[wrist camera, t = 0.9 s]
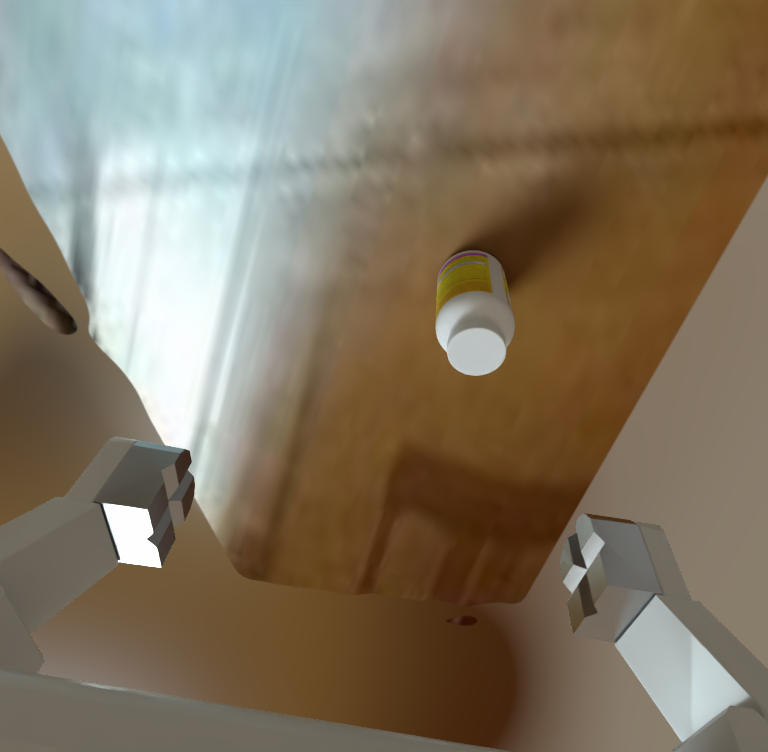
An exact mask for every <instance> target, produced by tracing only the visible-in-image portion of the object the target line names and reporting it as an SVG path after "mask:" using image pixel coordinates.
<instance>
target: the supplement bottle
mask: <svg viewBox="0 0 768 752" xmlns="http://www.w3.org/2000/svg"><path fill="white" fill-rule="evenodd" d="M514 329H515V323H514V316H513V312H512V307H511V302H510V296H509V291H508V286H507V281H506V276H505V272H504V270H503V267H502V266H501V264H500V263H499V261H498V260H497V259H496V258H494V257H493V256H492V255H490V254H488V253H486V252H482V251H477V250H469V251H463V252H460V253H458V254H456V255H454V256H452V257H451V258H450V259H448V260H447V261H446V263H445V264H444V265H443V266H442V268H441V270H440V272H439V275H438V280H437V307H436V334H437V338H438V341H439V343H440V345H441V346H442V347H443V349H444V350H445V351H446V352H447V356H448V359H449V361H450V363H451V364H452V366H453V367H454V368H455V369H457V370H458V371H460V372H462V373H464V374H468V375H484V374H488V373H490V372H492V371H494V370H495V369H497V368H498V367H499V366H500V365H501V364H502V362H503V361H504V359H505V356H506V348H507V347H508V345H509V344H510V342H511V340H512V338H513V335H514Z"/></svg>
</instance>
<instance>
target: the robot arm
mask: <svg viewBox="0 0 768 752" xmlns="http://www.w3.org/2000/svg"><path fill="white" fill-rule="evenodd" d="M191 462H192V461H191V456H190V451H189V450H186V449H181V448H176V447H170V446H165V445H159V444H154V443H149V442H144V441H137V440H132V439H126V438H120V437H113V438H112V439H110V440H108V441H107V442H106V443H105V445H104V446H103V447H102V449H101V450H100V451H99V452H98V454H97V455H96V456H95V458H94V459H93V460H92V462H91V463H90V465H89V466H88V467H87V468H86V470H85V471H84V472H83V474H82V475H81V476H80V478H79V479H78V480H77V482H76V483H75V484H74V486H73V487H72V488H71V489H70V491H69V492H68V493H67V495H66V496H65V497H64V498H62V497H55V498H54V499H52V500H50V501H48V502H46V503H44V504H42V505H40V506H38V507H36V508H35V509H33V510H31V511H29V512H27V513H25V514H23V515H21V516H19V517H18V518H16V519H14V520H12V521H10V522H8V523H6V524H4V525H2V526H0V752H510V751H504V750H498V749H492V748H485V747H480V746H474V745H467V744H461V743H455V742H449V741H443V740H437V739H431V738H425V737H419V736H413V735H406V734H401V733H395V732H389V731H383V730H376V729H370V728H364V727H358V726H352V725H346V724H340V723H334V722H328V721H322V720H315V719H309V718H304V717H298V716H292V715H285V714H279V713H273V712H267V711H261V710H255V709H249V708H243V707H237V706H230V705H225V704H218V703H212V702H206V701H200V700H194V699H188V698H182V697H176V696H170V695H163V694H158V693H151V692H146V691H139V690H133V689H127V688H121V687H114V686H108V685H102V684H97V683H91V682H84V681H78V680H72V679H66V678H60V677H54V676H48V675H42V674H37V673H38V671H39V670H40V668H41V666H42V664H43V663H44V658H43V654H42V652H41V651H40V649H39V647H38V645H37V644H36V642H35V640H34V639H33V637H32V635H31V633H33V632H34V631H35V630H36V629H37V628H39V627H40V626H41V625H43V624H44V623H45V622H46V621H48V620H49V619H50V618H51V617H53V616H54V615H55V614H57V613H58V612H59V611H60V610H61V609H63V608H64V607H65V606H66V605H68V604H69V603H71V602H72V601H73V600H74V599H76V598H77V597H78V596H79V595H81V594H82V593H83V592H84V591H86V590H87V589H88V588H90V587H91V586H92V585H93V584H95V583H96V582H97V581H98V580H99V579H101V578H102V577H103V576H105V575H106V574H107V573H109V572H110V571H111V570H112V569H114V568H115V567H116V566H117V565H118V564H119V563H118V562H125V563H132V564H139V565H147V566H155V567H162V565H163V563H164V561H165V559H166V557H167V555H168V553H169V551H170V549H171V547H172V545H173V543H174V541H175V533H174V527H176V526H177V525H179V524H180V523H182V522H183V521H185V518H186V517H187V514H188V512H189V510H190V508H191V504H192V501H193V497H194V489H195V482H194V476H193V475H192V474H191V473H190V472H189V471H188V468H189V466H190V464H191ZM575 526H576V530H577V533H576V534H574V535H572V536H570V537H568V538H567V540H566V542H565V544H564V546H563V549H562V554H561V560H560V561H561V575H562V581H563V583H564V584H565V586H566V587H567V588H568V589H569V590H570V592H571V593H572V595H571V597H570V598H569V600H568V602H567V607H568V612H569V617H570V622H571V627H572V632H573V635H577V636H582V637H587V638H593V639H598V640H603V641H608V642H613V643H616V644H615V646H616V648H617V649H618V650H619V652H620V653H621V655H622V656H623V658H624V659H625V661H626V662H627V663H628V665H629V666H630V668H631V669H632V670H633V672H634V673H635V675H636V676H637V678H638V679H639V681H640V682H641V684H642V685H643V687H644V688H645V689H646V691H647V692H648V694H649V695H650V697H651V698H652V699H653V701H654V702H655V704H656V705H657V707H658V708H659V710H660V711H661V712H662V714H663V715H664V717H665V718H666V720H667V721H668V722H669V724H670V725H671V727H672V728H673V730H674V731H675V732H676V734H677V735H678V737H679V738H680V740H681V741H682V743H681V744H680V745H678V746H677V747H676V748H675V749H673V750H672V751H671V752H768V669H767V668H766V667H765V666H764V665H763V664H762V663H761V662H760V661H759V660H758V659H757V658H756V657H755V656H754V655H753V654H752V653H751V652H750V651H749V650H748V649H747V648H746V647H745V646H744V645H743V644H742V643H741V642H740V641H739V640H738V639H737V638H736V637H735V636H734V635H733V634H732V633H731V632H730V631H729V630H728V629H727V628H726V627H725V626H724V625H723V624H722V623H721V622H720V621H719V620H718V619H716V617H715V616H714V615H712V613H710V611H708V609H707V608H706V607H704V605H703V604H702V603H701V602H699V601H694V600H692V599H691V596H690V594H689V591H688V589H687V587H686V584H685V582H684V579H683V577H682V574H681V572H680V569H679V567H678V564H677V562H676V559H675V557H674V554H673V552H672V549H671V547H670V544H669V542H668V540H667V537H666V535H665V532H664V530H663V529H662V528H661V527H660V526H659V525H655V524H649V523H642V522H635V521H631V520H625V519H619V518H612V517H605V516H598V515H592V514H585V513H584V514H583V515H581V516H580V517H579V518H578V520H577V522H576V524H575Z"/></svg>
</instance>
